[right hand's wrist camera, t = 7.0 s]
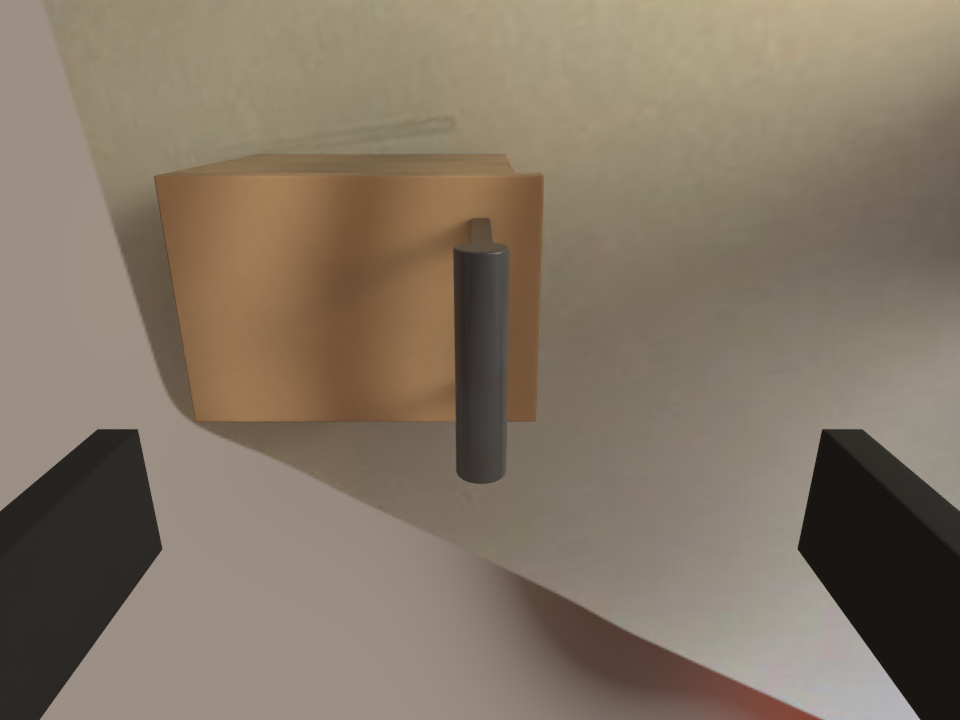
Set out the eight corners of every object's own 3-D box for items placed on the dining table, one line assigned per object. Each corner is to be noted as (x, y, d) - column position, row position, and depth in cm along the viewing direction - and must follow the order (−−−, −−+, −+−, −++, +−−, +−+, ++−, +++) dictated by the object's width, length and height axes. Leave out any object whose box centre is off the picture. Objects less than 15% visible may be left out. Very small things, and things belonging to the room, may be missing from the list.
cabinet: (505, 154, 34) (516, 172, 24) (503, 332, 37) (511, 409, 28) (255, 154, 34) (168, 172, 24) (275, 332, 37) (206, 409, 28)
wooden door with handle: (541, 172, 24) (569, 201, 17) (533, 409, 28) (554, 521, 20) (167, 172, 24) (29, 201, 17) (205, 410, 28) (105, 521, 20)
